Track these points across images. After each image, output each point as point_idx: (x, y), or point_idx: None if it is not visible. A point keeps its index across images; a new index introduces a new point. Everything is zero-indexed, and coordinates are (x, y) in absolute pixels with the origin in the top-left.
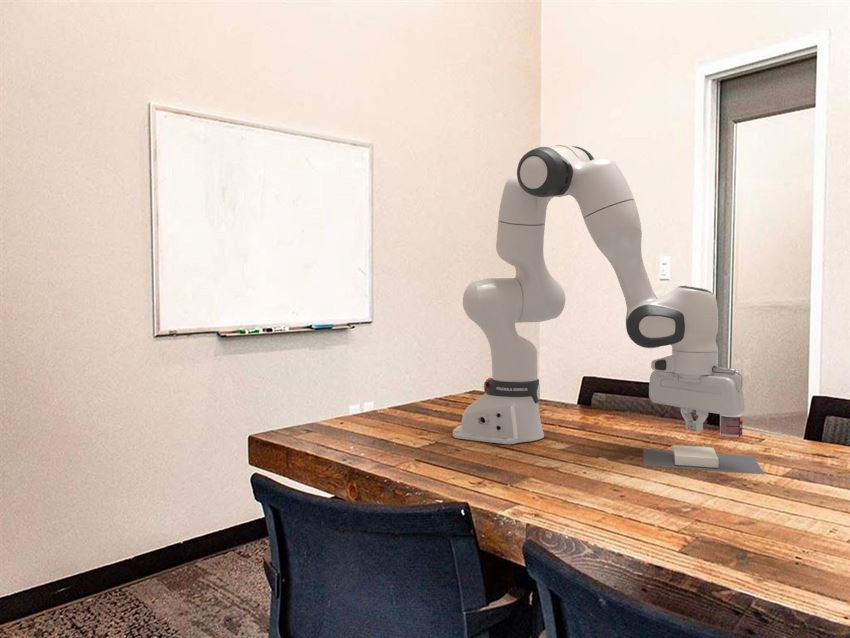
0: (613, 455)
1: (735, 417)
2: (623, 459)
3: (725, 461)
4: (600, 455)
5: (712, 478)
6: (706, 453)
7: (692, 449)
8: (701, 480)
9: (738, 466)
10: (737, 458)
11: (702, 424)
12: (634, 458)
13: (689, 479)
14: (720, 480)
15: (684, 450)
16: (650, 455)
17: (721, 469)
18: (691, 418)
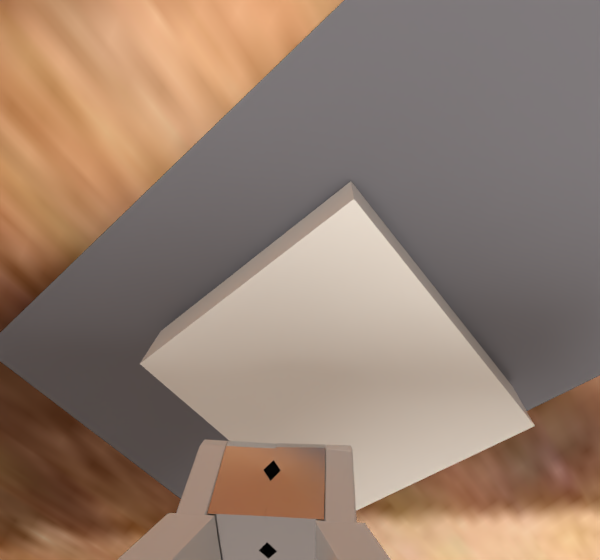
0: (20, 481)
1: None
2: (96, 496)
3: (466, 210)
4: (3, 513)
5: (528, 465)
6: (416, 380)
7: (293, 362)
8: (504, 511)
9: (587, 255)
10: (496, 48)
11: (354, 506)
12: (101, 458)
13: (460, 528)
14: (570, 465)
15: (280, 414)
16: (125, 422)
17: (528, 380)
18: (192, 553)
